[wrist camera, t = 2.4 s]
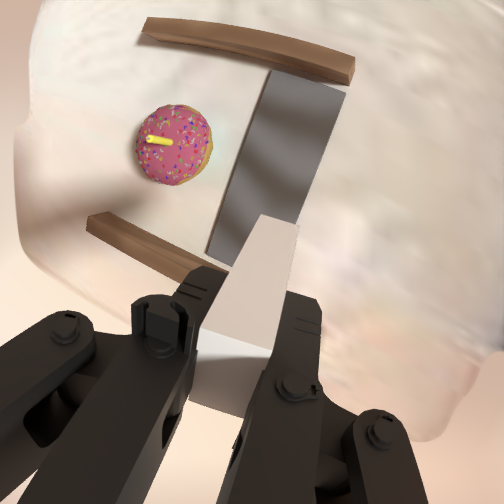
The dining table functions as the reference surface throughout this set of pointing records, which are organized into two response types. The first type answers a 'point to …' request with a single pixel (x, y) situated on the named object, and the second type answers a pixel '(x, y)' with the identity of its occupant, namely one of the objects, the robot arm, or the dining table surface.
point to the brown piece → (250, 144)
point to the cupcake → (174, 144)
